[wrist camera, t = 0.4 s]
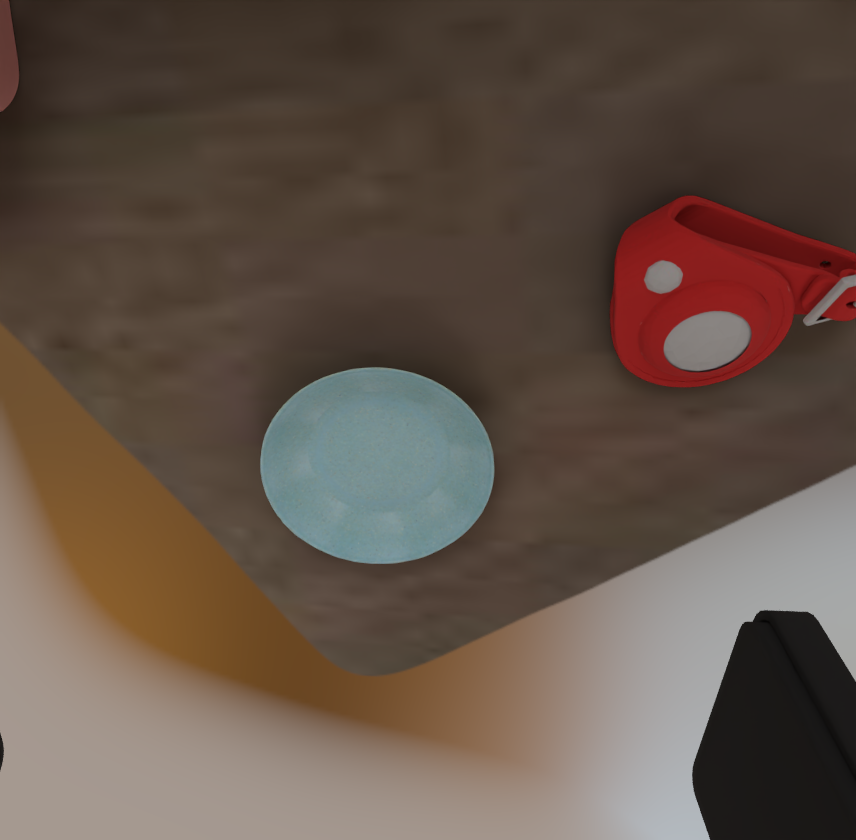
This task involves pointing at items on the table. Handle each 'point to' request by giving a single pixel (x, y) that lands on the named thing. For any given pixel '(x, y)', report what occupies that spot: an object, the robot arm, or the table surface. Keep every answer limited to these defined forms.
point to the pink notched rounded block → (7, 57)
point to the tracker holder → (718, 291)
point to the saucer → (377, 465)
